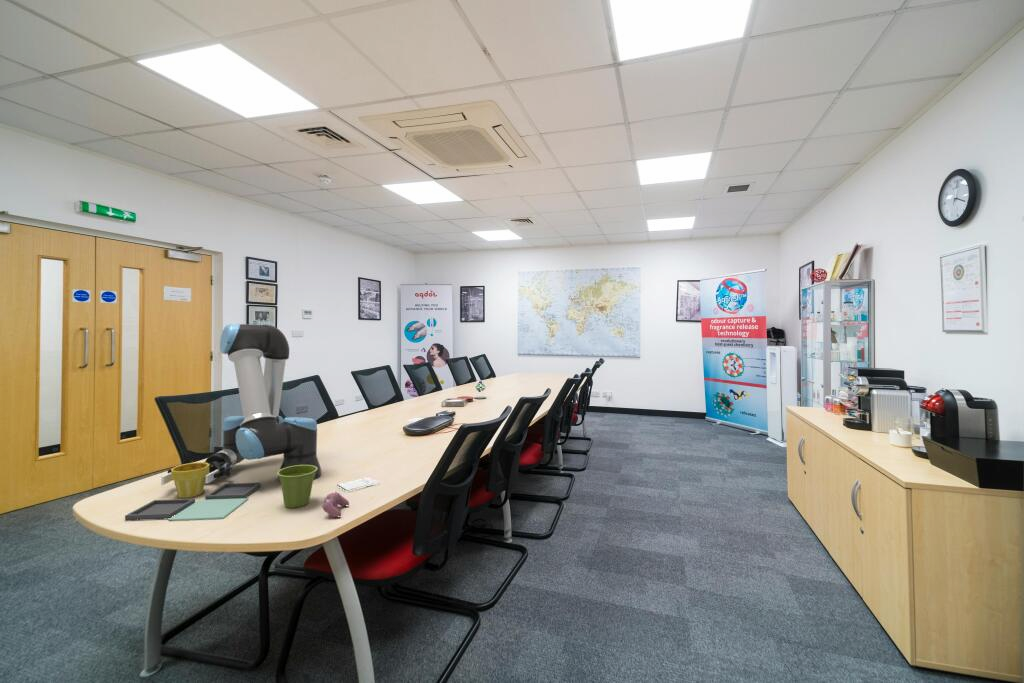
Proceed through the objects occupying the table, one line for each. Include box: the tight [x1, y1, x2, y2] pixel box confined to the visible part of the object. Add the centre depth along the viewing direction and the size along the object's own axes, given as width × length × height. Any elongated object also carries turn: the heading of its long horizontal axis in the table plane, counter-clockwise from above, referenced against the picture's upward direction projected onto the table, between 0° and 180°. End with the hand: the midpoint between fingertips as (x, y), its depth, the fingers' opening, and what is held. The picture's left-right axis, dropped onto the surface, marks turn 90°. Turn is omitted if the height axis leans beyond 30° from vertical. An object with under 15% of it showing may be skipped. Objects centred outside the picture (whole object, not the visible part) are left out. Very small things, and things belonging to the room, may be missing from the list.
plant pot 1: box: [171, 461, 210, 499], centre depth 142 cm, size 10×10×10 cm
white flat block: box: [336, 476, 379, 491], centre depth 154 cm, size 2×8×12 cm
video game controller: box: [321, 491, 350, 518], centre depth 130 cm, size 10×5×7 cm, turn 6°
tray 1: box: [124, 498, 196, 521], centre depth 128 cm, size 12×12×2 cm
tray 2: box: [204, 482, 262, 500], centre depth 144 cm, size 12×12×2 cm
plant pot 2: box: [276, 465, 318, 509], centre depth 136 cm, size 12×12×11 cm
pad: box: [167, 497, 249, 521], centre depth 130 cm, size 15×15×1 cm
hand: (184, 480), depth 139 cm, fingers open, 13 cm apart
